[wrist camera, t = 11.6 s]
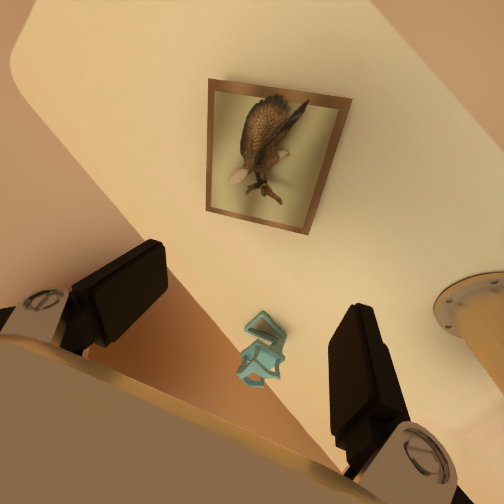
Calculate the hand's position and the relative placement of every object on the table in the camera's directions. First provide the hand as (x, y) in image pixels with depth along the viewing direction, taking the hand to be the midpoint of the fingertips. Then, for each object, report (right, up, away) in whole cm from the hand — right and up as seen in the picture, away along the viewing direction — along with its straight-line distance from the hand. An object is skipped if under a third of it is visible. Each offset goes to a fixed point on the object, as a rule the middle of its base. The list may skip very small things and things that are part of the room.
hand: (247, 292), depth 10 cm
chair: (+4, -15, +36) cm, 39 cm away
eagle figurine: (+3, +14, +13) cm, 19 cm away
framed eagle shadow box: (+3, +15, +18) cm, 24 cm away
